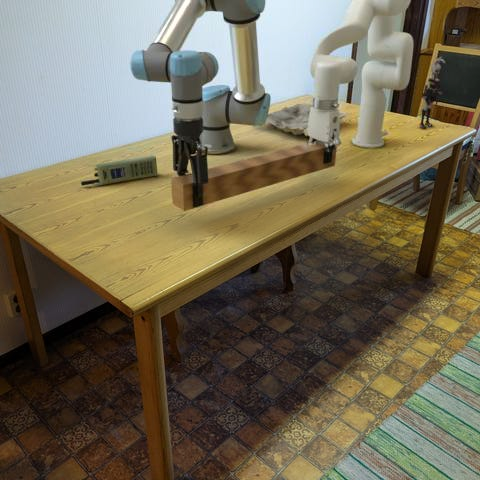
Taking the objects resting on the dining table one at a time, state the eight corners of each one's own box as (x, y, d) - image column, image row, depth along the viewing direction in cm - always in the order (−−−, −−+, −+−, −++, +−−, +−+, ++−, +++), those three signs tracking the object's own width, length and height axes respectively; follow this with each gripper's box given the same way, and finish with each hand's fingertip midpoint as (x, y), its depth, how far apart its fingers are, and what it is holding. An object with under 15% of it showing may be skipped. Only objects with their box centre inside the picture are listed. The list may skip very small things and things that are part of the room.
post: (321, 160, 169) (323, 139, 165) (334, 165, 164) (337, 144, 161) (172, 203, 137) (170, 178, 134) (184, 211, 133) (183, 185, 130)
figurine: (421, 131, 217) (435, 58, 202) (409, 128, 221) (422, 56, 206) (438, 124, 226) (453, 54, 211) (426, 121, 230) (440, 52, 215)
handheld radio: (158, 176, 170) (83, 189, 160) (155, 173, 172) (80, 186, 162) (156, 157, 167) (79, 169, 157) (153, 154, 169) (77, 166, 159)
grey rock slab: (245, 130, 217) (303, 143, 199) (245, 116, 214) (304, 128, 197) (296, 115, 242) (351, 125, 225) (297, 102, 239) (353, 111, 222)
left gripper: (155, 111, 131) (161, 193, 142) (196, 129, 117) (199, 218, 129) (180, 106, 135) (184, 187, 146) (222, 123, 122) (223, 210, 133)
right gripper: (354, 107, 150) (348, 165, 159) (313, 96, 162) (309, 149, 171) (337, 112, 146) (331, 170, 155) (296, 99, 158) (293, 154, 167)
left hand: (191, 201), depth 137 cm, fingers closed on post, 6 cm apart
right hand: (319, 159), depth 163 cm, fingers closed on post, 6 cm apart
